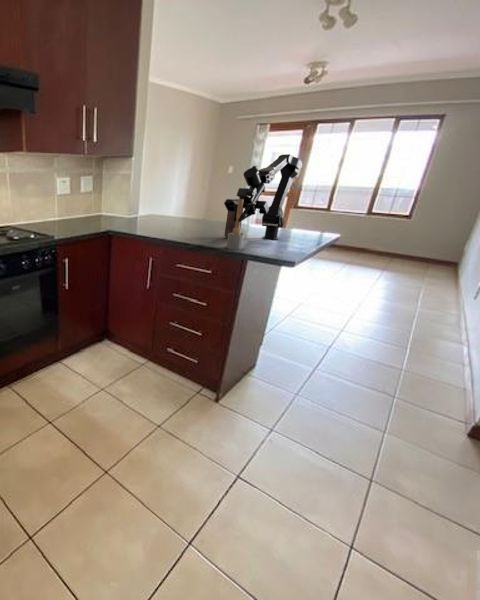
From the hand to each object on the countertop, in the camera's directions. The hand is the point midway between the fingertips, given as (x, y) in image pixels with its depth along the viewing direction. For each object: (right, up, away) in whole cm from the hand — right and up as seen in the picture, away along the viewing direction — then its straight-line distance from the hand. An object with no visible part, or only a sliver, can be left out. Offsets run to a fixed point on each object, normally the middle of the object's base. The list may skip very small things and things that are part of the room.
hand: (236, 221), depth 150 cm
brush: (+1, -8, +4) cm, 9 cm away
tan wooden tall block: (+10, -3, +27) cm, 29 cm away
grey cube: (+2, -12, +6) cm, 13 cm away
